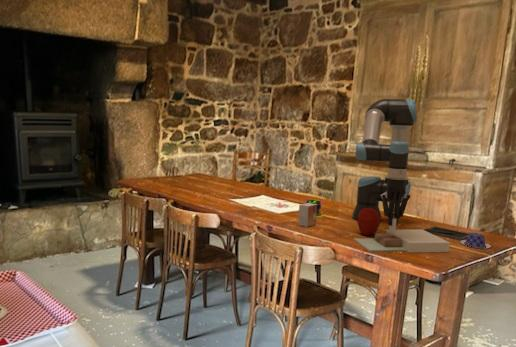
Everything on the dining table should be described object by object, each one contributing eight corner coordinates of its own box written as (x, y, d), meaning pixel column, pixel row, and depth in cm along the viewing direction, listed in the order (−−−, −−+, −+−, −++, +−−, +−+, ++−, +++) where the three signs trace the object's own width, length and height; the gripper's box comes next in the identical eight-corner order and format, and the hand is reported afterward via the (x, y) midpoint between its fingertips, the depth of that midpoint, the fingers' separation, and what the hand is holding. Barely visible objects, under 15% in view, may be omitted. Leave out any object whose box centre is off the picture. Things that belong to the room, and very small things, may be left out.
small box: (307, 227, 195) (308, 206, 194) (297, 225, 199) (299, 204, 198) (316, 224, 201) (317, 204, 200) (307, 222, 205) (308, 202, 204)
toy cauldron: (295, 212, 229) (296, 193, 227) (318, 211, 233) (319, 192, 232) (306, 218, 215) (307, 198, 213) (331, 217, 219) (332, 197, 218)
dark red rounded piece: (375, 239, 180) (378, 208, 178) (353, 235, 184) (355, 205, 183) (380, 234, 189) (383, 205, 187) (359, 230, 193) (361, 202, 192)
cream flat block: (385, 238, 182) (386, 229, 181) (421, 237, 185) (422, 229, 184) (408, 252, 162) (409, 243, 162) (448, 251, 165) (449, 242, 164)
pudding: (478, 251, 169) (479, 239, 168) (453, 242, 180) (455, 231, 179) (496, 248, 174) (498, 236, 173) (471, 240, 185) (473, 229, 184)
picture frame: (423, 233, 195) (462, 242, 182) (423, 229, 195) (462, 238, 182) (434, 229, 204) (472, 237, 191) (434, 225, 204) (472, 233, 191)
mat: (353, 239, 177) (354, 238, 177) (387, 239, 180) (387, 238, 180) (369, 251, 161) (369, 250, 161) (406, 251, 164) (406, 249, 164)
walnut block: (374, 240, 176) (374, 233, 175) (389, 240, 177) (389, 233, 176) (385, 247, 166) (385, 240, 165) (400, 247, 167) (401, 240, 167)
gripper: (386, 179, 163) (381, 235, 166) (415, 179, 165) (410, 235, 168) (378, 176, 170) (373, 230, 173) (406, 177, 172) (401, 230, 175)
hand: (392, 232), depth 171 cm, fingers closed
